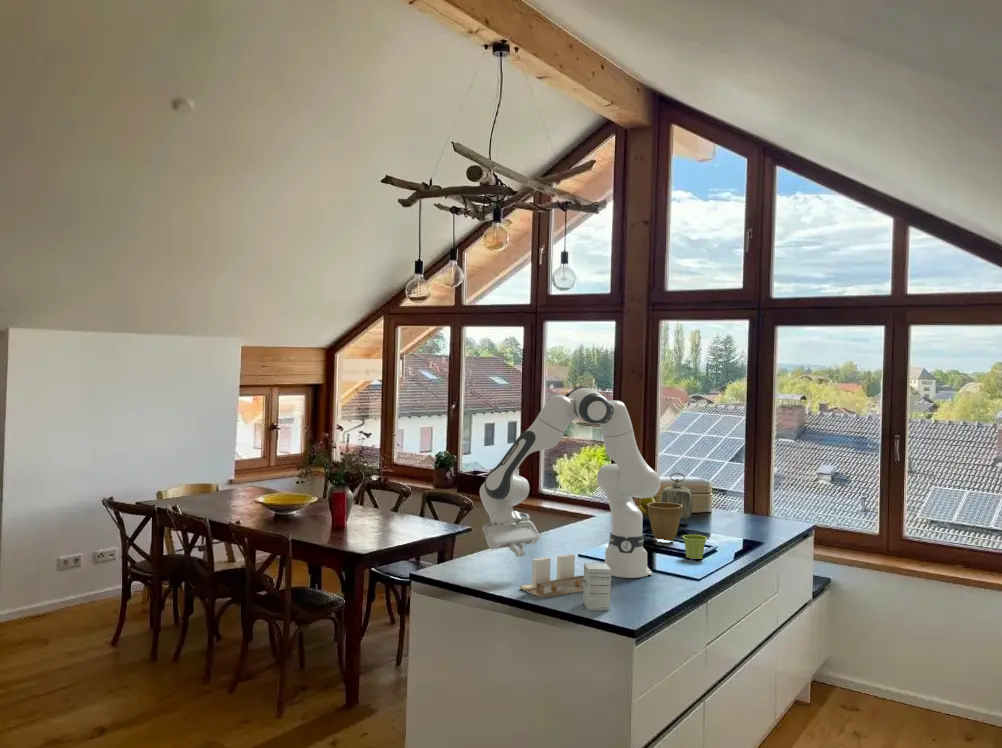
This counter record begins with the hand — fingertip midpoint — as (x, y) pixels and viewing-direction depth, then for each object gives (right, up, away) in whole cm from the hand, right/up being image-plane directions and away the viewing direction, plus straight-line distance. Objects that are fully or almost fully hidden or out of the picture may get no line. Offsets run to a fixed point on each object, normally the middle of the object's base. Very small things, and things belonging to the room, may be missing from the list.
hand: (521, 555), depth 268 cm
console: (+10, -10, -6) cm, 16 cm away
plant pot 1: (+64, -11, +75) cm, 99 cm away
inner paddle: (+15, -8, -3) cm, 17 cm away
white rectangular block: (+6, -8, -9) cm, 13 cm away
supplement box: (+22, -10, -24) cm, 35 cm away
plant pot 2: (+69, -12, +44) cm, 82 cm away
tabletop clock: (+78, -12, +116) cm, 140 cm away
